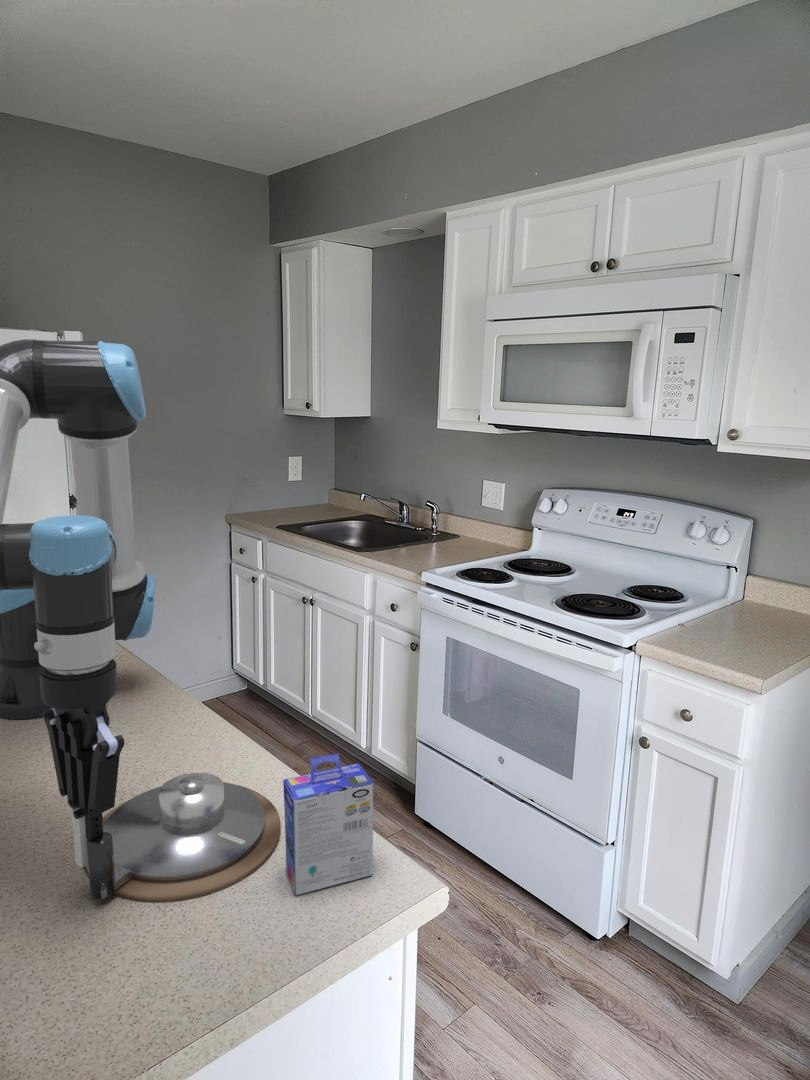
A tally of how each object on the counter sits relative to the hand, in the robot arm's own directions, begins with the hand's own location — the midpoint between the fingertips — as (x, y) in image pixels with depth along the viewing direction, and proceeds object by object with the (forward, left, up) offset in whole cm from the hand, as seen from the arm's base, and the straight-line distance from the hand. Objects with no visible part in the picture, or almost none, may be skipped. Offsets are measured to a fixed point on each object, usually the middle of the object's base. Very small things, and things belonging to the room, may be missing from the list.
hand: (90, 859), depth 82 cm
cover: (-5, +13, -2) cm, 14 cm away
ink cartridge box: (+12, +24, -4) cm, 27 cm away
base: (-4, +12, -4) cm, 14 cm away
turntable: (-3, +10, -3) cm, 11 cm away
